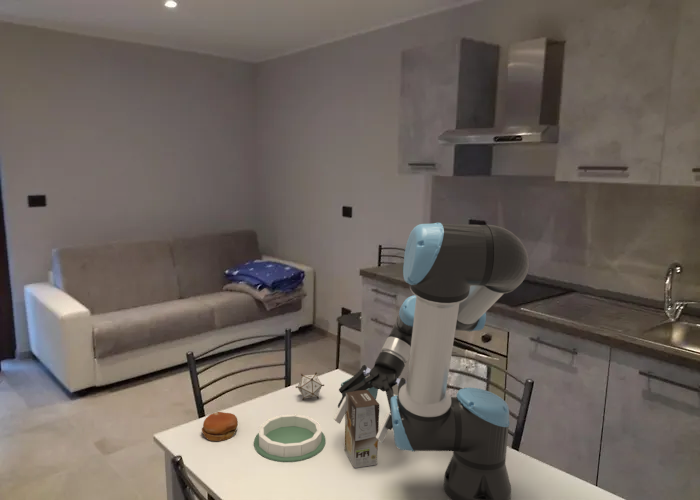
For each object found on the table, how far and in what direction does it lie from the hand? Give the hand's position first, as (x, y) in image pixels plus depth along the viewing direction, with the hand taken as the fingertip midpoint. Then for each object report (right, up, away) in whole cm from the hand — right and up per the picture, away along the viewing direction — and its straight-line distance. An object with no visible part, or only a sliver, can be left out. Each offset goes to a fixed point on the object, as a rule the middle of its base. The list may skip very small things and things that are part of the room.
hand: (357, 430), depth 126 cm
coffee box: (+1, -8, +2) cm, 8 cm away
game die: (-15, -2, +35) cm, 38 cm away
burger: (-38, -5, +12) cm, 40 cm away
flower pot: (+1, -4, +27) cm, 28 cm away
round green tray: (-18, -6, +8) cm, 21 cm away
